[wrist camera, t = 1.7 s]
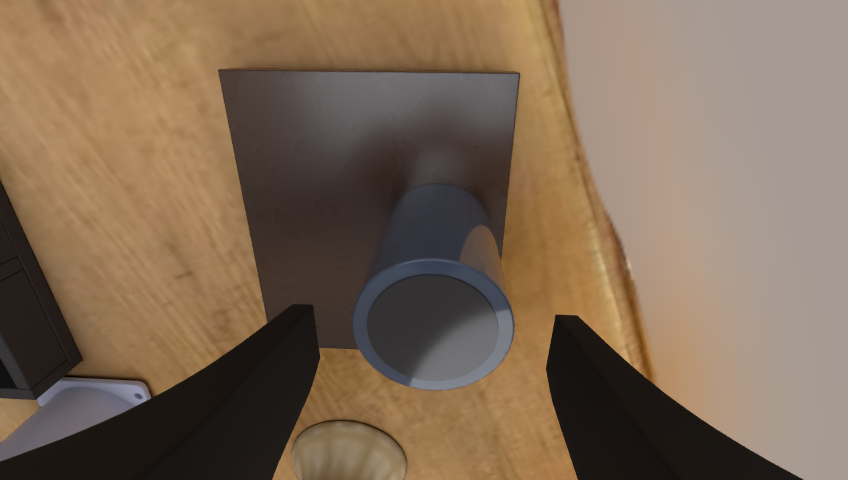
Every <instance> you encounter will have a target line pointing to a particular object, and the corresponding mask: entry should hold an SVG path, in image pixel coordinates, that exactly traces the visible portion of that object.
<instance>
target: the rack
mask: <svg viewBox="0 0 848 480" xmlns="http://www.w3.org/2000/svg"><path fill="white" fill-rule="evenodd" d="M81 361H82V358H81V356H80V354H79V352H78V349H77V347H76V345H75V343H74V341H73V339H72V336H71V334H70V332H69V330H68V328H67V326H66V323H65V321H64V319H63V317H62V315H61V313H60V310H59V308H58V306H57V304H56V302H55V300H54V297H53V295H52V293H51V291H50V289H49V287H48V284H47V282H46V280H45V278H44V276H43V274H42V271H41V269H40V267H39V265H38V263H37V261H36V258H35V256H34V254H33V252H32V250H31V248H30V246H29V243H28V241H27V239H26V237H25V235H24V233H23V230H22V228H21V226H20V224H19V222H18V220H17V217H16V215H15V213H14V211H13V209H12V207H11V204H10V202H9V200H8V198H7V196H6V194H5V191H4V189H3V187H2V185H1V183H0V398H10V399H28V400H36V399H38V398H39V397H40V396H41V395H42V394H44V393H45V392H46V391H47V390H48V389H50V388H51V387H52V386H53V385H54V384H56V383H57V382H58V381H59V380H60V379H61V378H63V377H64V376H65V375H66V374H67V373H69V372H70V371H71V370H72V369H73V368H74V367H75V366H77V365H78V364H79V363H80V362H81Z"/></svg>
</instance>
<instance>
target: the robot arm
mask: <svg viewBox="0 0 848 480" xmlns="http://www.w3.org/2000/svg"><path fill="white" fill-rule="evenodd" d="M319 360H320V353H319V346H318V338H317V331H316V323H315V316H314V308H313V305H309V304H292V305H291V306H289V307H288V308H287V309H285V310H284V311H283V312H281V313H280V314H279V315H277V316H276V317H275V318H274V319H272V320H271V321H270V322H268V323H267V324H266V325H265V326H263V327H262V328H261V329H259V330H258V331H257V332H255V333H254V334H253V335H251V336H250V337H249V338H247V339H246V340H245V341H243V342H242V343H241V344H239V345H238V346H236V347H235V348H233V349H232V350H230V351H229V352H228V353H226V354H225V355H223V356H222V357H220V358H219V359H217V360H216V361H215V362H213V363H212V364H210V365H209V366H207V367H205V368H204V369H202V370H201V371H199V372H197V373H196V374H194V375H193V376H191V377H189V378H187V379H186V380H184V381H182V382H181V383H179V384H177V385H175V386H174V387H172V388H170V389H168V390H166V391H165V392H163V393H161V394H159V395H157V396H155V397H153V398H151V396H150V393H149V391H148V388H147V386H146V384H145V383H143V382H141V381H129V380H110V379H91V378H71V377H63V378H61V379H60V380H59V381H58V382H57V383H56V384H54V385H53V386H52V387H51V388H50V389H48V390H47V391H46V392H45V393H44V394H42V395H41V396H40V397H39V398H38V399H36V400H37V402H38V404H39V406H40V409H39V410H38V411H37V412H35V413H34V414H33V415H32V416H31V417H30V418H29V419H27V420H26V421H25V422H24V423H23V424H22V425H21V426H19V427H18V428H17V429H16V430H15V431H14V432H13V433H11V434H10V435H9V436H8V437H7V438H6V439H5V440H3V441H2V442H1V443H0V480H272V478H273V476H274V473H275V470H276V468H277V465H278V463H279V460H280V458H281V456H282V453H283V451H284V449H285V447H286V444H287V442H288V440H289V438H290V435H291V433H292V431H293V429H294V426H295V424H296V422H297V420H298V418H299V415H300V413H301V411H302V408H303V406H304V404H305V402H306V399H307V397H308V395H309V392H310V390H311V387H312V384H313V381H314V377H315V374H316V371H317V367H318V363H319ZM546 371H547V377H548V382H549V388H550V393H551V397H552V402H553V405H554V408H555V411H556V414H557V418H558V421H559V424H560V427H561V430H562V433H563V436H564V439H565V442H566V445H567V448H568V451H569V454H570V457H571V460H572V463H573V466H574V469H575V472H576V475H577V478H578V480H803V479H801V478H799V477H798V476H796V475H794V474H792V473H790V472H788V471H786V470H784V469H783V468H781V467H779V466H777V465H775V464H774V463H771V462H770V461H768V460H766V459H765V458H763V457H761V456H759V455H758V454H756V453H754V452H752V451H750V450H749V449H747V448H746V447H744V446H742V445H741V444H739V443H738V442H736V441H734V440H732V439H731V438H729V437H727V436H726V435H725V434H723V433H721V432H720V431H718V430H716V429H715V428H713V427H712V426H710V425H709V424H707V423H706V422H704V421H703V420H701V419H700V418H698V417H697V416H696V415H694V414H693V413H691V412H690V411H688V410H687V409H686V408H684V407H683V406H682V405H680V404H679V403H677V402H676V401H675V400H673V399H672V398H671V397H669V396H668V395H667V394H665V393H664V392H663V391H661V390H660V389H659V388H658V387H656V386H655V385H654V384H653V383H651V382H650V381H649V380H648V379H647V378H645V377H644V376H643V375H642V374H640V373H639V372H638V371H637V370H636V369H635V368H633V367H632V366H631V365H630V364H629V363H628V362H627V361H625V360H624V359H623V358H622V357H621V356H620V355H619V354H618V353H617V352H615V351H614V350H613V349H612V348H611V347H610V346H609V345H608V344H607V343H606V342H605V341H604V340H603V339H602V338H601V337H599V336H598V335H597V334H596V333H595V332H594V331H593V330H592V329H591V328H590V327H589V326H588V325H587V324H586V323H585V322H584V321H583V320H582V319H580V318H579V317H578V316H576V315H556V316H555V322H554V327H553V333H552V338H551V344H550V349H549V355H548V360H547V366H546Z"/></svg>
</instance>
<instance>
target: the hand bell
mask: <svg viewBox="0 0 848 480" xmlns="http://www.w3.org/2000/svg"><path fill="white" fill-rule="evenodd" d="M292 464H293V468H294V471H295V474H296V476H297V477H298V479H299V480H404V478H405V476H406V471H407V463H406V459H405V456H404V454H403V452H402V450H401V448H400V447H399V446H398V445H397V443H396V442H395V441H394V440H393V439H392V438H390V437H389V436H388V435H386V434H385V433H383V432H381V431H380V430H377V429H375V428H373V427H371V426H368V425H365V424H361V423H358V422H353V421H330V422H325V423H320V424H317V425H315V426H312V427H310V428H309V429H307V430H306V431H304V432H303V433H302V434H301V435H300V436H299V437H298V438H297V440H296V441H295V443H294V445H293V449H292Z"/></svg>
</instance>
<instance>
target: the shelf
mask: <svg viewBox="0 0 848 480" xmlns="http://www.w3.org/2000/svg"><path fill="white" fill-rule="evenodd" d="M218 72H219V77H220V82H221V88H222V93H223V98H224V103H225V108H226V113H227V118H228V123H229V128H230V133H231V139H232V144H233V149H234V154H235V159H236V164H237V169H238V174H239V179H240V184H241V190H242V195H243V200H244V205H245V210H246V215H247V220H248V225H249V230H250V235H251V241H252V246H253V251H254V256H255V261H256V266H257V271H258V276H259V281H260V286H261V292H262V297H263V302H264V307H265V312H266V317H267V322H270V321H271V320H272V319H274V318H275V317H276V316H277V315H279V314H280V313H281V312H283V311H284V310H285V309H287V308H288V307H289V306H291V305H292V304H309V305H313V308H314V316H315V323H316V331H317V338H318V346H319V348H339V349H359V348H358V346H357V344H356V341H355V338H354V335H353V329H352V313H353V308H354V305H355V302H356V299H357V296H358V293H359V291H360V288H361V286H362V283H363V280H364V278H365V275H366V272H367V270H368V267H369V264H370V262H371V259H372V256H373V254H374V251H375V248H376V246H377V243H378V240H379V238H380V235H381V232H382V230H383V227H384V224H385V222H386V219H387V217H388V214H389V212H390V210H391V209H392V207H393V206H394V204H395V203H396V202H397V201H398V200H399V199H400V198H401V197H402V196H403V195H405V194H406V193H408V192H409V191H411V190H413V189H416V188H418V187H421V186H425V185H430V184H446V185H451V186H455V187H458V188H461V189H463V190H465V191H467V192H469V193H470V194H472V195H473V196H474V197H475V198H477V199H478V200H479V201H480V202H481V204H482V205H483V206H484V207H485V209H486V211H487V212H488V215H489V217H490V220H491V223H492V227H493V231H494V235H495V239H496V244H497V248H498V252H499V256H500V260H501V255H502V245H503V236H504V226H505V216H506V206H507V197H508V187H509V177H510V167H511V157H512V148H513V138H514V128H515V118H516V109H517V99H518V89H519V79H520V73H518V72H515V71H461V70H371V69H281V68H229V69H219V70H218Z"/></svg>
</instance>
